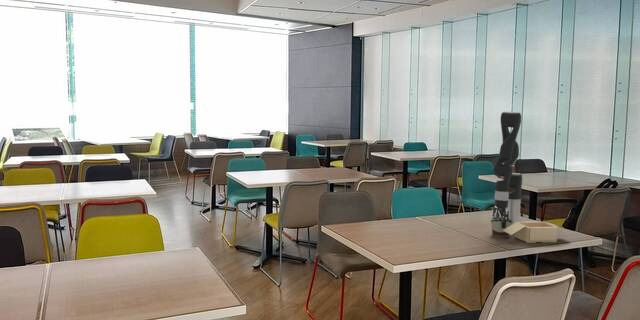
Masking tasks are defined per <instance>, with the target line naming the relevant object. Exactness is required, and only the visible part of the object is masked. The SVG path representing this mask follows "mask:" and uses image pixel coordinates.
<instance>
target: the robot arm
mask: <svg viewBox="0 0 640 320" xmlns="http://www.w3.org/2000/svg"><path fill="white" fill-rule="evenodd" d="M521 124H522V114H521V112H520V111H502V112H501V115H500V127H501V136H502V143H501V146H500V148H499V154H498V158H497V160H496V162H495V164H494V165H493V167H492V168H493V169H492V173H493V175H494V176H495V177H503V178H502V180H497V181H496V182H495V192H494V204H493V205H494V206H493V209H492V218H493V217H500V218H501V219H502V228H506V222H507V221H509V219H512V222H513V223H511V225H512V224H514V223H515V222H521V221H520V217H521V201H522V200H521V199H522V185H523V174H522V173H520V172H518V173H517V172H514V169H513V165H514V164H515V162H516V161H517V160H518V158H519V156H520V151H519V149H520V147H519V143H518V142H517V137H518V133H519V130H520V127H521ZM509 128H512V130H511V132H510V129H509ZM509 188H512V189H515V190H513V191H509ZM503 218H504V219H503ZM506 218H507V219H506Z"/></svg>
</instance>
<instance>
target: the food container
mask: <svg viewBox="0 0 640 320" xmlns="http://www.w3.org/2000/svg"><path fill="white" fill-rule="evenodd" d="M503 219H504V218H503ZM506 219H507V218H506ZM490 223H491V234H492V235H491V236H492V237H510V234H508V233H506V232H504V231H503V230H504V229H506V228H507V227H509V226H511V223H513V222H512V219H509V221H507V222H506V228H502V219H501V218H500V217H493V216H492V217H491V218H490Z"/></svg>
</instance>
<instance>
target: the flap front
mask: <svg viewBox="0 0 640 320" xmlns="http://www.w3.org/2000/svg"><path fill="white" fill-rule="evenodd" d="M524 227H525V226H523V225H521V224H519V223H516V222H515V223H514V224H512V225H511V226H509V227H507V228H506V229H504V230H503V231H504V232H506V233H508V234H510V235H511V236H513V235H514V234H516V232H517V231H519V230H521V229H522V228H524ZM510 235H509V236H510Z"/></svg>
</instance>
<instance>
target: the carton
mask: <svg viewBox="0 0 640 320" xmlns="http://www.w3.org/2000/svg"><path fill="white" fill-rule="evenodd" d="M516 223H519V224H521V225H523V226H525V227H524V228H522V229H521V230H519V231H517V232H516V233H515V235H514V236H515V238H516V239H518V240H519V239H520V240H521V241H522V242H525V243H527V244H528V243H531V244H533V243H534V244H536V242H542V243H557V242H558V230H559V229H558V227H556V226H554V225H551V224H549V223H548V222H545V221H520V222H516Z"/></svg>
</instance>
